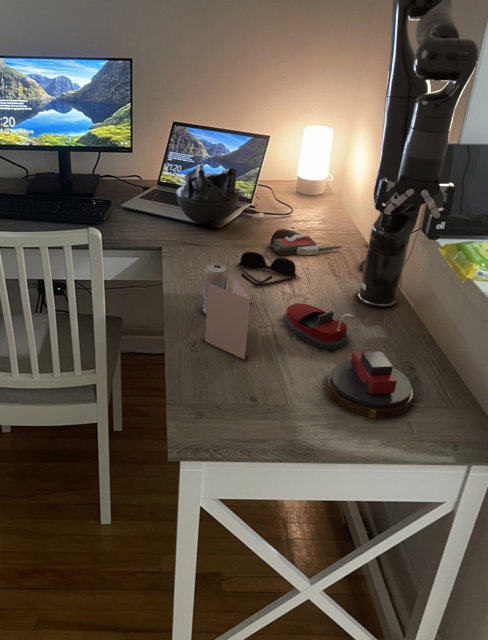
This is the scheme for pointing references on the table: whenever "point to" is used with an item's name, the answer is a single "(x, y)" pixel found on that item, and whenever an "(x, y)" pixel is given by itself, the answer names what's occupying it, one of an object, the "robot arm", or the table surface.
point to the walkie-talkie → (298, 245)
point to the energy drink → (214, 280)
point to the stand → (366, 409)
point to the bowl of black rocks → (208, 195)
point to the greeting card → (228, 318)
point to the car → (371, 380)
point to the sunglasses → (266, 267)
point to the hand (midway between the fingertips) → (406, 232)
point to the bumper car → (316, 326)
